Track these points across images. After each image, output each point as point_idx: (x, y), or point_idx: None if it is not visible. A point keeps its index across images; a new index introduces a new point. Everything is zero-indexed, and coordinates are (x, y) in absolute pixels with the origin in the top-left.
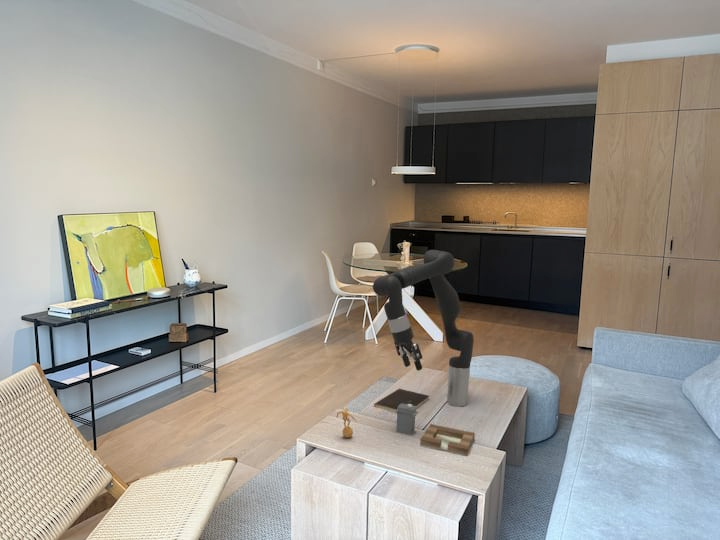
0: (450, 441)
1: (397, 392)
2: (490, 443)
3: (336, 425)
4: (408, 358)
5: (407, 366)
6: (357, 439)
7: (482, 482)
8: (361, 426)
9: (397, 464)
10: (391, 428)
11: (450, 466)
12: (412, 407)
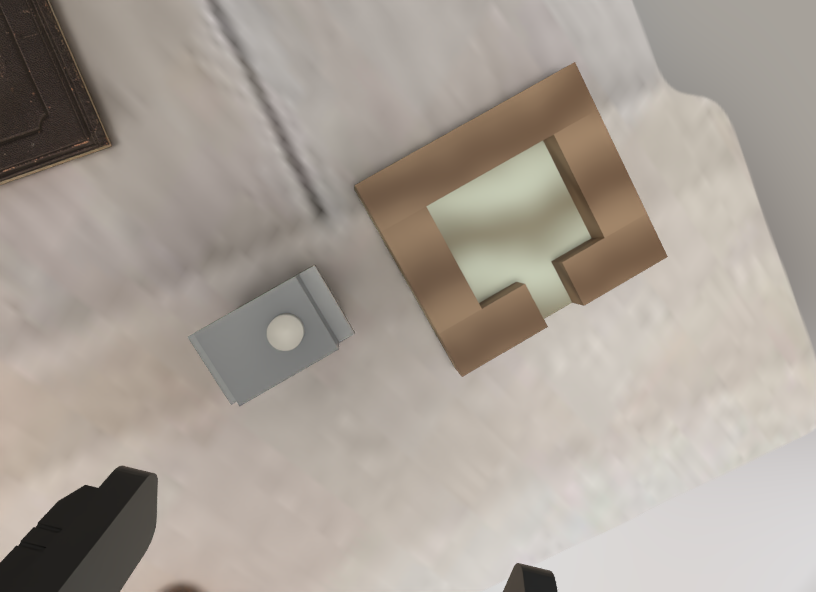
0: (567, 263)
1: None
2: (635, 43)
3: None
4: (68, 579)
5: (154, 515)
6: (231, 580)
7: (808, 376)
8: None
9: None
10: None
11: (660, 389)
12: (303, 318)
